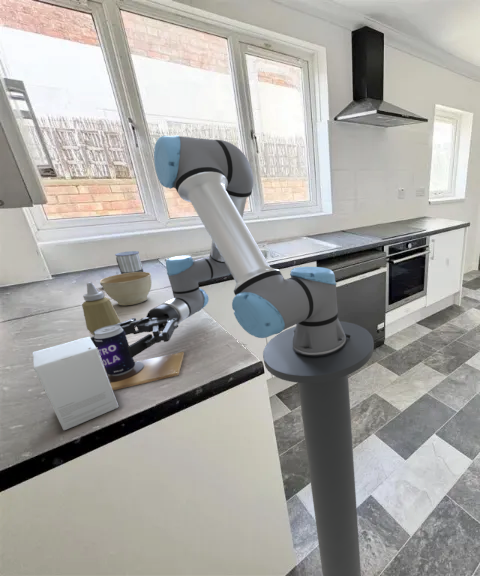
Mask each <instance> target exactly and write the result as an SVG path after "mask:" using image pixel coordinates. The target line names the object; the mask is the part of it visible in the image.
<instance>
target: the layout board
mask: <svg viewBox="0 0 480 576" xmlns="http://www.w3.org/2000/svg"><path fill="white" fill-rule="evenodd" d="M184 355H185V353H184V351H180V352H175V353H171V354H165V355H161V356H156V357H151V358H146V359H142V360H141V359H140V360H135V361H134V362H135V366H134V367H133V368H132V370H131V371H129V372H128V373H126V374H123V375H119V376H113V375H109V374H107V372H106V374H107V376H108V379H109V382H110V384H111V387H112V390H113V391H117V390H121V389H125V388H130V387H133V386H139V385H142V384H148V383H151V382H156V381H160V380H164V379H169V378H172V377H176V376H179V375H180V372H181V367H182V365H183V364H182V363H183V360H184ZM104 369H105V367H104ZM105 371H106V370H105Z"/></svg>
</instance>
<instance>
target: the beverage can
mask: <svg viewBox="0 0 480 576" xmlns="http://www.w3.org/2000/svg"><path fill="white" fill-rule="evenodd" d="M94 333H95V335H94V340H95V343H96V345H97V351H98V353H99V356H100V358H101V361H102V363H103V366H104V368H105V370H106V372H107V374H109V375H113V376H119V375H123V374H126V373H128V372H129V371H131V370H132V368H133V367H134V366H135V362H136V361H135V359H134V357H131V356H130V353H129V350H128V346H130V344H129V341H128V338H127V335H125V332H124V330H123V329H122V328H121V326H120V325H110V326H105V327H102V328H100V329H98V330H96V331H95V332H94Z"/></svg>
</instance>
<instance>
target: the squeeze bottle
mask: <svg viewBox="0 0 480 576" xmlns="http://www.w3.org/2000/svg"><path fill="white" fill-rule="evenodd" d="M82 298H83V299H84V301H83V302H82V303H81V306H82V311H83V316H84V320H85V326H86V330H88V332H89V333H90V334H91V335H93V336H94V333H93V332H94V331H96V330H98V329H100V328H102V327H105V326H110V325H115V324H118V323H121V320H120V318H119V315H118V313H117V311H116V309H115V307H114V305H113V303H112V301H111V299H110V297H105V293H104V292H103V291H101V290H100V291H99V290H98V289H97V288H96V286H95V284H94V283H93V282H92V281H89V282H86V293H85V294H84V295H83V297H82ZM93 336H92V337H93Z"/></svg>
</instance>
